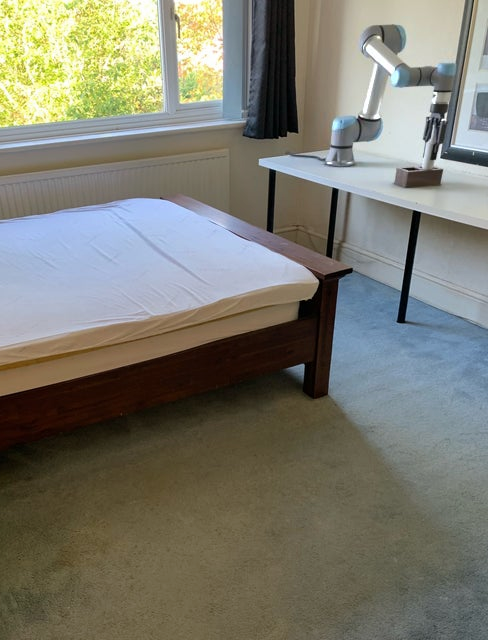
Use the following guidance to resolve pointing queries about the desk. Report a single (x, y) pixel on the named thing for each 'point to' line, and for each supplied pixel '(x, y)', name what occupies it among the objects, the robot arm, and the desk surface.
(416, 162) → the desk surface
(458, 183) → the desk surface
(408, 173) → the caddy
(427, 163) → the bottle
